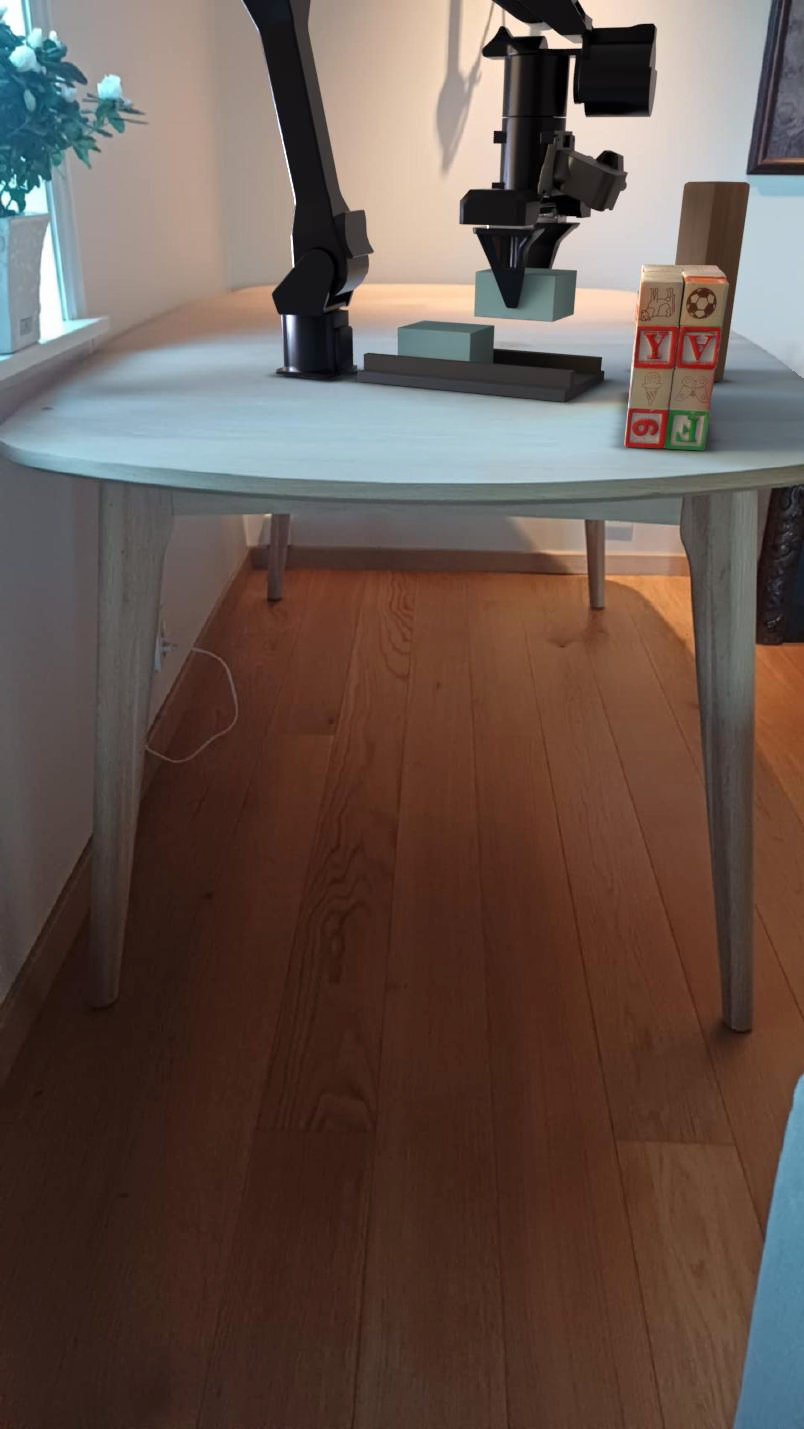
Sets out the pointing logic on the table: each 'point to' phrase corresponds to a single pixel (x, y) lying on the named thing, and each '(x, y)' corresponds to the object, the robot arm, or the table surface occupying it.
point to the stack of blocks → (675, 355)
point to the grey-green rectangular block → (528, 295)
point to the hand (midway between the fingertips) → (524, 304)
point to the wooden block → (714, 238)
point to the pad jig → (478, 364)
